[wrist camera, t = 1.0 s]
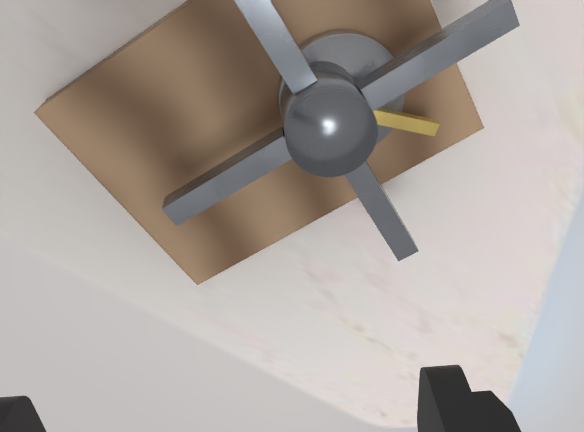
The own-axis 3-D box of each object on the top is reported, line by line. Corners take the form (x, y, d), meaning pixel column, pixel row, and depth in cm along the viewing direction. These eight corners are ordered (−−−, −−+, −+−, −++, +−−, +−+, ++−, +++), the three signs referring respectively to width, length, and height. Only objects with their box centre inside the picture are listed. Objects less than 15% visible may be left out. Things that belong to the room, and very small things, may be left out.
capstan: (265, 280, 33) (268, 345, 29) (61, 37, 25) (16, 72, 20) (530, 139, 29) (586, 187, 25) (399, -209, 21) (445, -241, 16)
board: (199, 266, 35) (197, 286, 33) (46, 99, 28) (32, 114, 27) (471, 115, 31) (485, 129, 29) (366, -125, 24) (376, -127, 22)
